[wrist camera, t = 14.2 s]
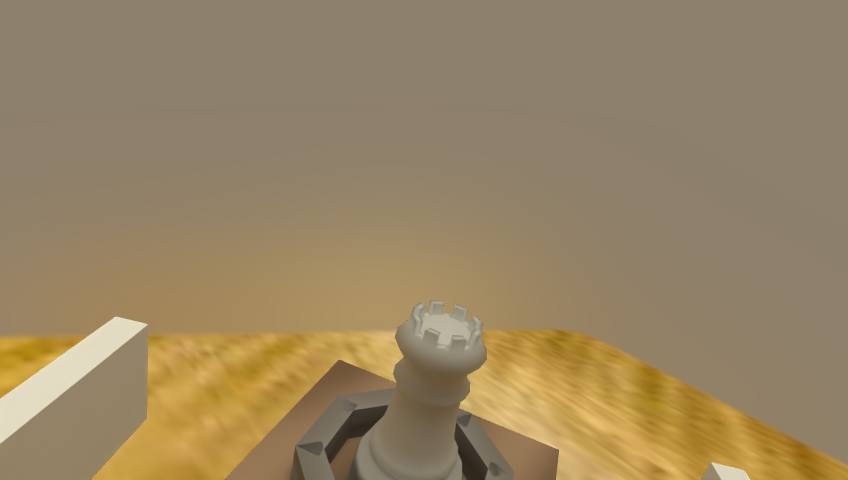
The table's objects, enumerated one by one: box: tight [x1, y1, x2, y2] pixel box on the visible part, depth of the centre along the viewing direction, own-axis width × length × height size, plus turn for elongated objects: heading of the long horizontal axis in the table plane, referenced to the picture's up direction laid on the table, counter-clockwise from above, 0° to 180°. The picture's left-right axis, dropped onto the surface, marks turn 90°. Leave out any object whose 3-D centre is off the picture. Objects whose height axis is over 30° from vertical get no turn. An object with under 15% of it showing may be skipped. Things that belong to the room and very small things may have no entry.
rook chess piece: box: [348, 300, 487, 480], centre depth 18 cm, size 4×4×8 cm
